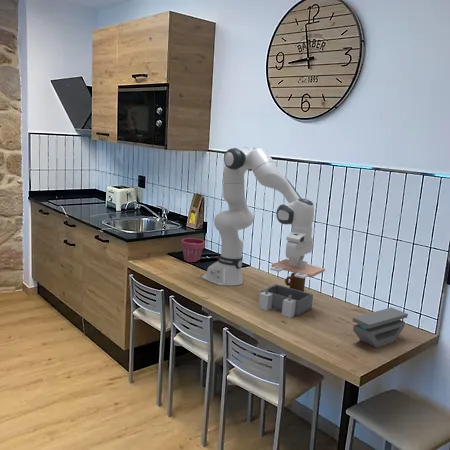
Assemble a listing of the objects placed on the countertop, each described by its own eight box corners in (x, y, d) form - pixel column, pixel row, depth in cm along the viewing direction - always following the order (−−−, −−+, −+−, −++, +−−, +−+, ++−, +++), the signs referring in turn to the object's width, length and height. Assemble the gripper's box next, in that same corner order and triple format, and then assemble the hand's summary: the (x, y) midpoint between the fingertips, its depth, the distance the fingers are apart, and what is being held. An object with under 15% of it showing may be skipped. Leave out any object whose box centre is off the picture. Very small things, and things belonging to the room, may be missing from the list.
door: (266, 268, 215) (267, 259, 214) (286, 261, 230) (286, 252, 229) (307, 279, 204) (308, 270, 203) (324, 271, 219) (325, 262, 218)
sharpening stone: (365, 351, 183) (369, 324, 181) (349, 343, 189) (352, 317, 187) (404, 338, 198) (407, 313, 196) (387, 331, 204) (391, 307, 202)
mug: (289, 296, 239) (290, 278, 238) (279, 291, 246) (281, 274, 244) (306, 293, 246) (308, 276, 244) (297, 289, 252) (298, 271, 250)
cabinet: (255, 307, 222) (257, 287, 220) (274, 297, 236) (276, 279, 234) (293, 319, 210) (296, 298, 209) (311, 308, 225) (313, 289, 223)
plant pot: (205, 264, 286) (207, 243, 283) (182, 264, 282) (184, 243, 280) (200, 257, 299) (201, 237, 297) (178, 257, 295) (179, 237, 293)
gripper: (305, 230, 225) (301, 259, 228) (284, 237, 209) (281, 267, 212) (317, 233, 222) (313, 262, 225) (297, 239, 205) (293, 270, 208)
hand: (297, 264), depth 218 cm, fingers closed on door, 2 cm apart
